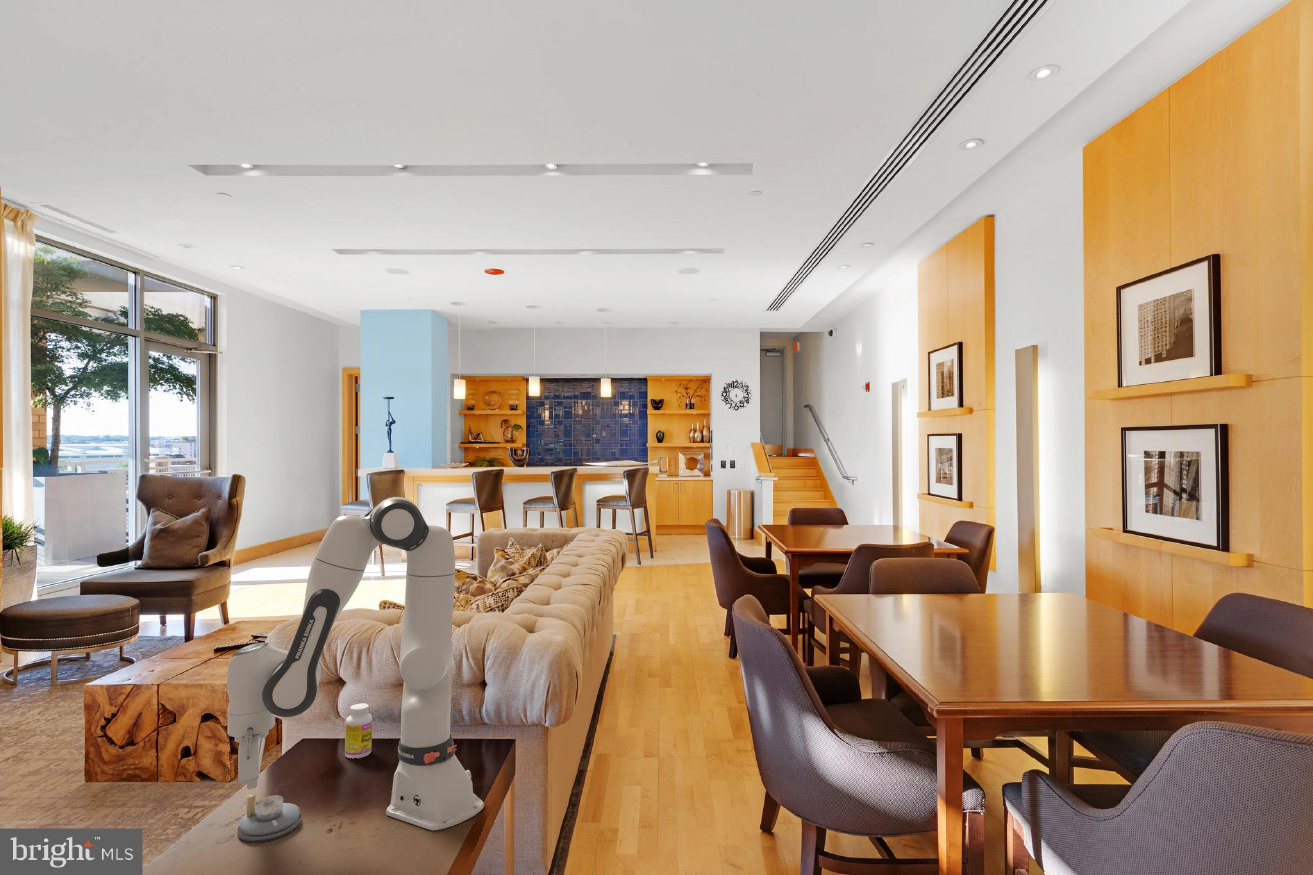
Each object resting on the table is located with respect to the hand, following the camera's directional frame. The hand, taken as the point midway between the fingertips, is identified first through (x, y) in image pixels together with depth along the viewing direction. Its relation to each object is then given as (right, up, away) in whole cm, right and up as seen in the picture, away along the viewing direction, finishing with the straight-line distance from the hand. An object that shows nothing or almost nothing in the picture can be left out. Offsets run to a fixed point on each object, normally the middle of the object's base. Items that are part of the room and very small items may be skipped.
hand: (252, 785), depth 148 cm
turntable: (+3, -8, +1) cm, 9 cm away
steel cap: (+3, -7, 0) cm, 8 cm away
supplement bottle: (+6, -11, +38) cm, 40 cm away
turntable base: (+3, -9, +1) cm, 10 cm away
